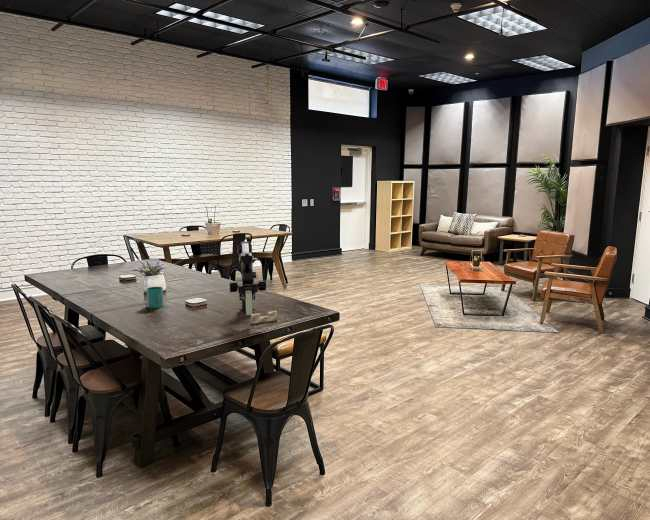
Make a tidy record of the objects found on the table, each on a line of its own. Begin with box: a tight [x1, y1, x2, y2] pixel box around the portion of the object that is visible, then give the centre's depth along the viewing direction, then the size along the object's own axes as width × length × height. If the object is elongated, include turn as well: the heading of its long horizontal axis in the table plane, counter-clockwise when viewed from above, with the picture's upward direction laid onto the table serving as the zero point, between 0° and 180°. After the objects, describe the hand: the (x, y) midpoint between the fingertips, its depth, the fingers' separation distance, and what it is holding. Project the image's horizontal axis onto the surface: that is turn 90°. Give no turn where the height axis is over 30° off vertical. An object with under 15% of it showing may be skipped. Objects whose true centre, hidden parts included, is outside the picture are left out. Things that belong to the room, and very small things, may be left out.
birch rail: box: [250, 310, 278, 324], centre depth 255 cm, size 14×2×4 cm, turn 119°
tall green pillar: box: [245, 290, 253, 316], centre depth 245 cm, size 7×3×11 cm, turn 11°
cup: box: [146, 286, 165, 309], centre depth 284 cm, size 9×12×11 cm
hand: (248, 300), depth 245 cm, fingers closed on tall green pillar, 3 cm apart
